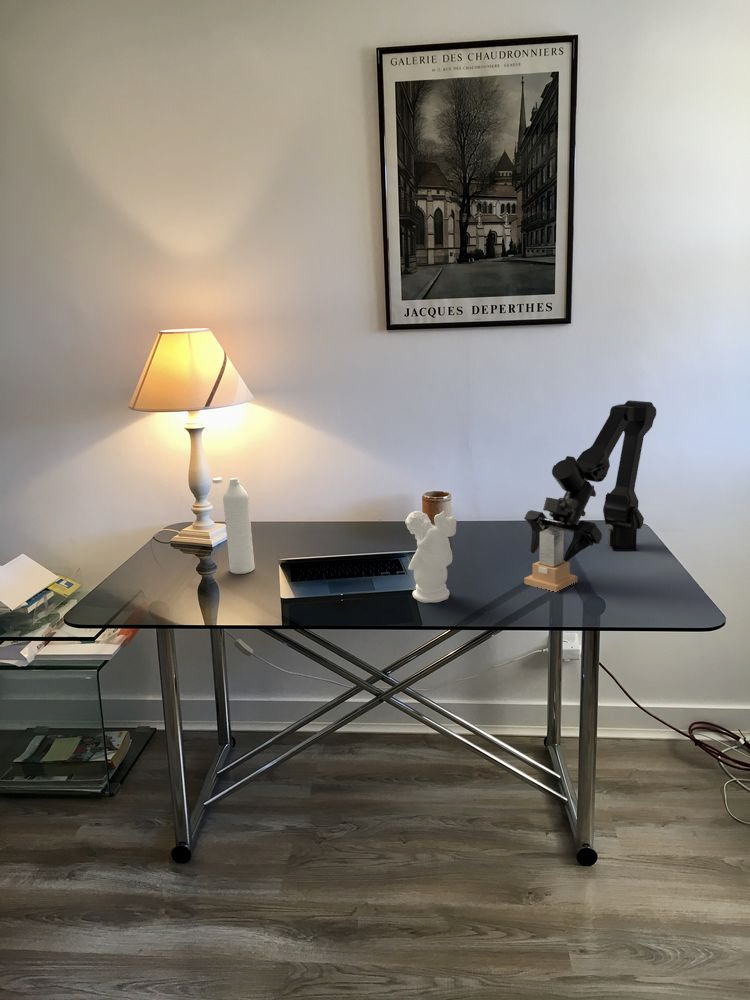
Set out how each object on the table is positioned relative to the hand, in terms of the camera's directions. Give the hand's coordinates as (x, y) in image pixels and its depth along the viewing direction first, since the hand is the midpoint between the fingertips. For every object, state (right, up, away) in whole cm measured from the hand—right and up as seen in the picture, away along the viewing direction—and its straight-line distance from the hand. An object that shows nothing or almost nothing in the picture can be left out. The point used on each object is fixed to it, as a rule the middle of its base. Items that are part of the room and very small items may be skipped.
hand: (548, 556), depth 188 cm
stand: (+1, -7, +3) cm, 7 cm away
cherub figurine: (-26, -9, -1) cm, 28 cm away
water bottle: (-77, -5, +21) cm, 80 cm away
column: (+1, -5, +2) cm, 6 cm away
